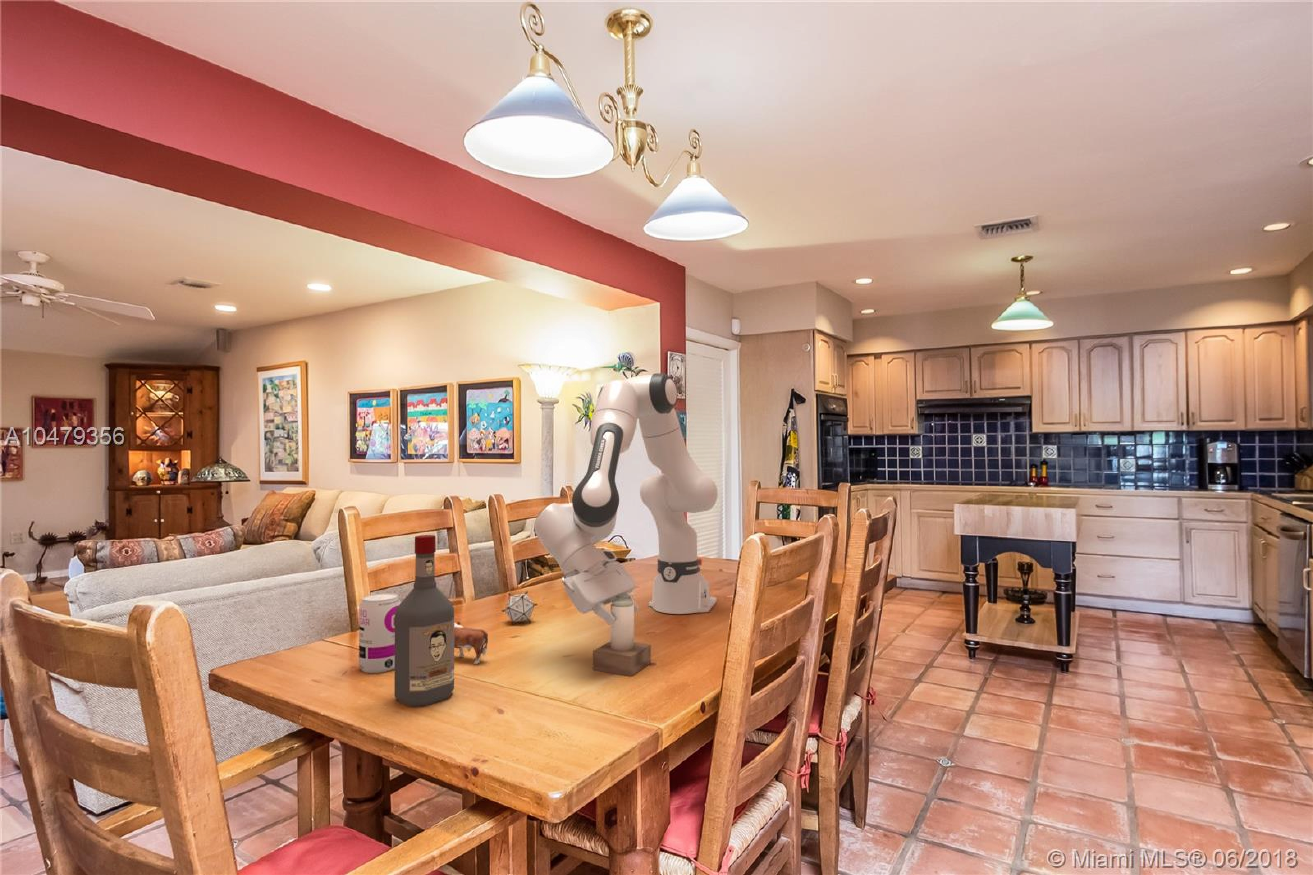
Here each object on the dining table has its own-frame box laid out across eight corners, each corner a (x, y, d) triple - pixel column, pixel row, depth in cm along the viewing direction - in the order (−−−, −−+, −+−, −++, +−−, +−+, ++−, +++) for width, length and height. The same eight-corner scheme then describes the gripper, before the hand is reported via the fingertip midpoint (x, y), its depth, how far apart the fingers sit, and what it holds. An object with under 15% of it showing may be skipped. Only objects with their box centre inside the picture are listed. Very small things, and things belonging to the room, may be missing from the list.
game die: (524, 638, 174) (531, 612, 169) (494, 626, 175) (501, 600, 169) (536, 614, 182) (544, 589, 177) (508, 603, 182) (514, 577, 177)
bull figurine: (449, 652, 151) (449, 616, 151) (492, 661, 144) (492, 624, 144) (434, 657, 147) (434, 620, 147) (477, 667, 140) (477, 628, 140)
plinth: (614, 657, 146) (614, 639, 146) (650, 663, 142) (650, 644, 142) (592, 669, 138) (592, 650, 138) (630, 676, 134) (630, 656, 134)
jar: (617, 642, 144) (617, 597, 144) (638, 645, 141) (638, 599, 142) (606, 648, 139) (606, 602, 139) (626, 652, 137) (626, 604, 137)
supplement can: (408, 663, 143) (408, 593, 143) (383, 675, 135) (383, 602, 135) (376, 660, 145) (377, 591, 145) (349, 672, 137) (350, 600, 137)
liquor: (389, 697, 123) (389, 536, 123) (433, 684, 130) (434, 531, 130) (414, 710, 117) (415, 541, 117) (459, 695, 124) (460, 535, 124)
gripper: (567, 565, 134) (609, 619, 130) (617, 551, 152) (655, 597, 148) (549, 585, 136) (589, 639, 132) (600, 569, 154) (637, 615, 150)
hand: (624, 617), depth 140 cm, fingers open, 8 cm apart
